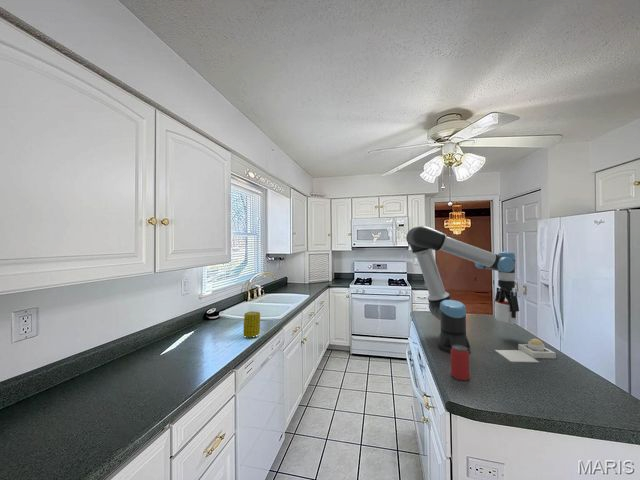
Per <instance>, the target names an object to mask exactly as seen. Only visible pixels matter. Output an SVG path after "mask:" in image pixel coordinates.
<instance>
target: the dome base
mask: <svg viewBox="0 0 640 480" xmlns="http://www.w3.org/2000/svg"><path fill="white" fill-rule="evenodd" d="M517 350H521V351H522V352H524V353H526V354H527V355H529V356H531V357H532V358H534V359H557V354H556V352H555V351H553V350H551V349H549V348H547V347H545V346H544V351H532V350H531V349H529V348H528V343H518V345H517Z"/></svg>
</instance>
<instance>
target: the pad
mask: <svg viewBox="0 0 640 480" xmlns="http://www.w3.org/2000/svg"><path fill="white" fill-rule="evenodd" d="M494 351H495V352H496V353H497V354H498V355H500V356H501V357H503V358H504V359H506V360H508V362H510V363H540V361H538V360H537V358H532V357H531V356H529V355H527V354H526V353H524V352H522V351H521V350H519V349H513V350H512V349H495V350H494Z"/></svg>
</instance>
